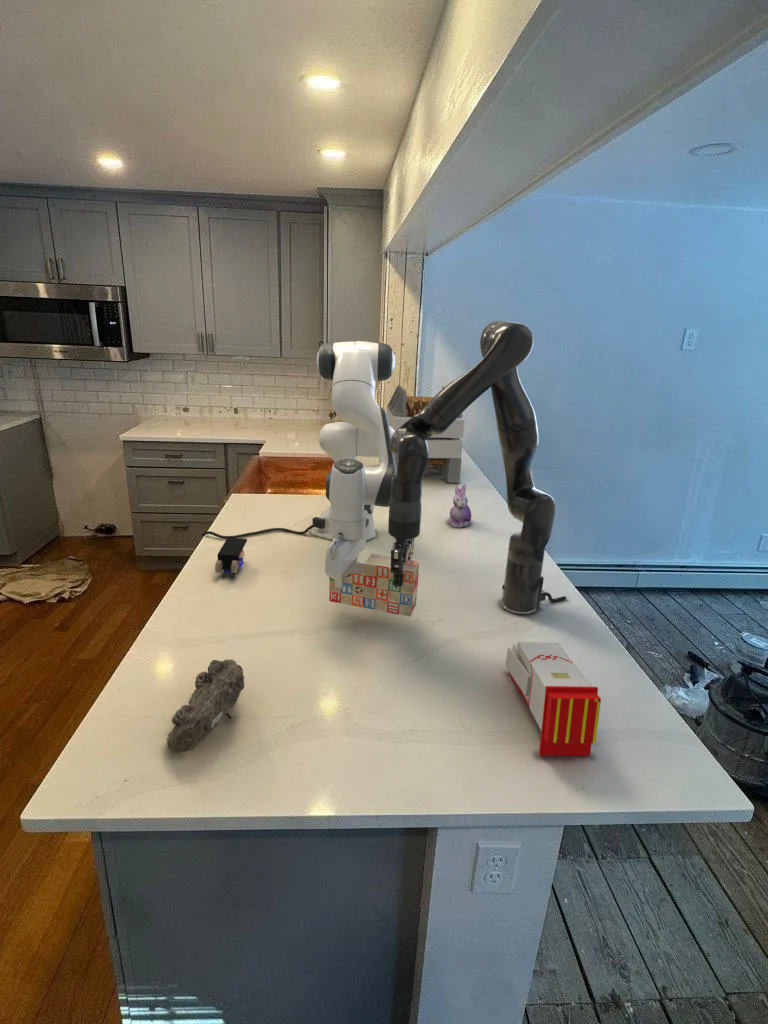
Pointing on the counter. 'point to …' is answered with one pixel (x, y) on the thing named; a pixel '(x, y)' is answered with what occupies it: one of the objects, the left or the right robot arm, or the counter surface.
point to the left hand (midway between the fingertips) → (345, 578)
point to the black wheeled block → (230, 556)
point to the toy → (556, 697)
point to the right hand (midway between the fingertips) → (401, 579)
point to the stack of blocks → (377, 586)
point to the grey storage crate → (440, 447)
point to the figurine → (460, 508)
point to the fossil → (206, 705)
